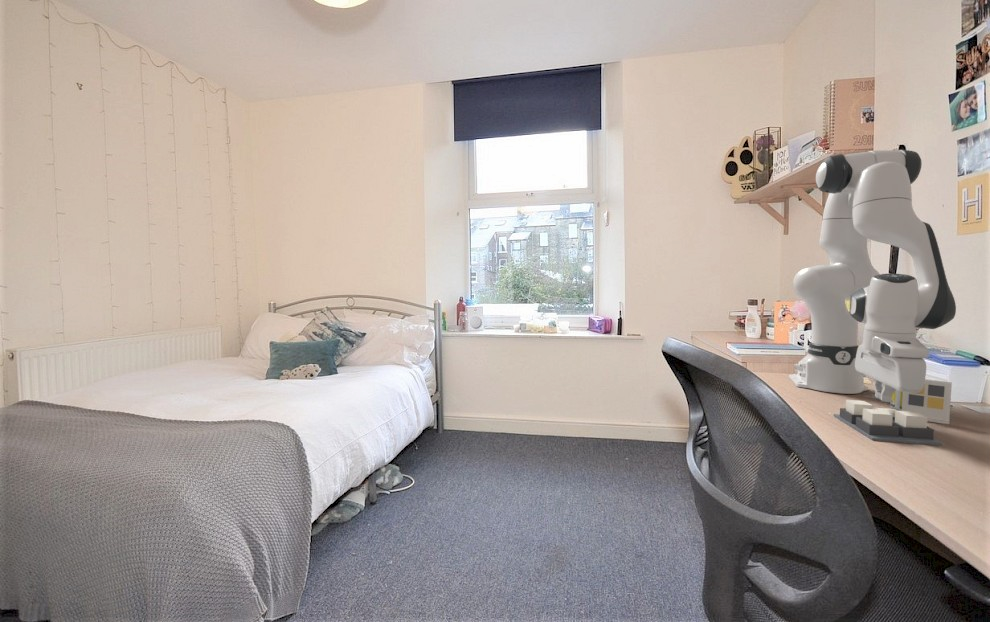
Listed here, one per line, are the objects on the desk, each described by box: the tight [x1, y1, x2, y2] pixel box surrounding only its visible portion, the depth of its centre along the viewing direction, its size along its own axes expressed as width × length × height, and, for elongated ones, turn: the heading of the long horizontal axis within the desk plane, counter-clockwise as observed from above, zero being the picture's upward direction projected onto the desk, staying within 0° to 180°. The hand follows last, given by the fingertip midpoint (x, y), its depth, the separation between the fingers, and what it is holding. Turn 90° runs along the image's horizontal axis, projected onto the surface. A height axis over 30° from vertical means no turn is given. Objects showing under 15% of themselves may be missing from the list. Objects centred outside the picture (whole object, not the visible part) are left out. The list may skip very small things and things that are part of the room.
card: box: [902, 378, 953, 425], centre depth 98 cm, size 2×8×10 cm, turn 44°
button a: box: [875, 407, 899, 417], centre depth 95 cm, size 4×4×3 cm
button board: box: [833, 407, 944, 446], centre depth 93 cm, size 16×12×3 cm
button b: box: [895, 410, 928, 429], centre depth 88 cm, size 4×4×3 cm
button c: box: [845, 399, 874, 415], centre depth 97 cm, size 4×4×3 cm
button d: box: [862, 408, 893, 426], centre depth 90 cm, size 4×4×3 cm
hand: (883, 400), depth 96 cm, fingers closed
